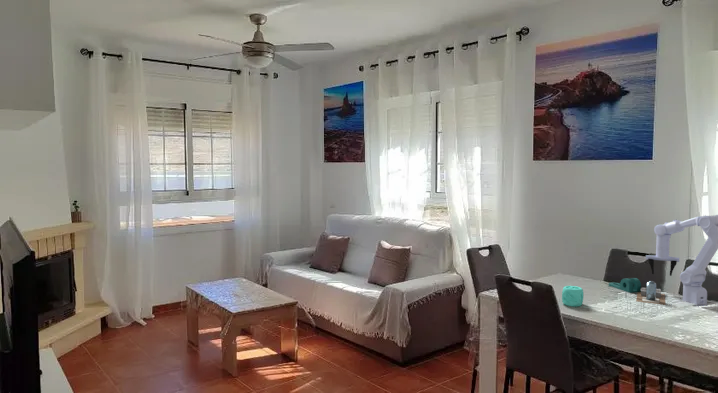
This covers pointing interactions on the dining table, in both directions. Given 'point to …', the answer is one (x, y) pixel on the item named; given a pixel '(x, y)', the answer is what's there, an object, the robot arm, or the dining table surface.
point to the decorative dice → (572, 296)
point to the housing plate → (642, 298)
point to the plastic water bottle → (651, 291)
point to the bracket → (628, 285)
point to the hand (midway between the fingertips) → (661, 274)
